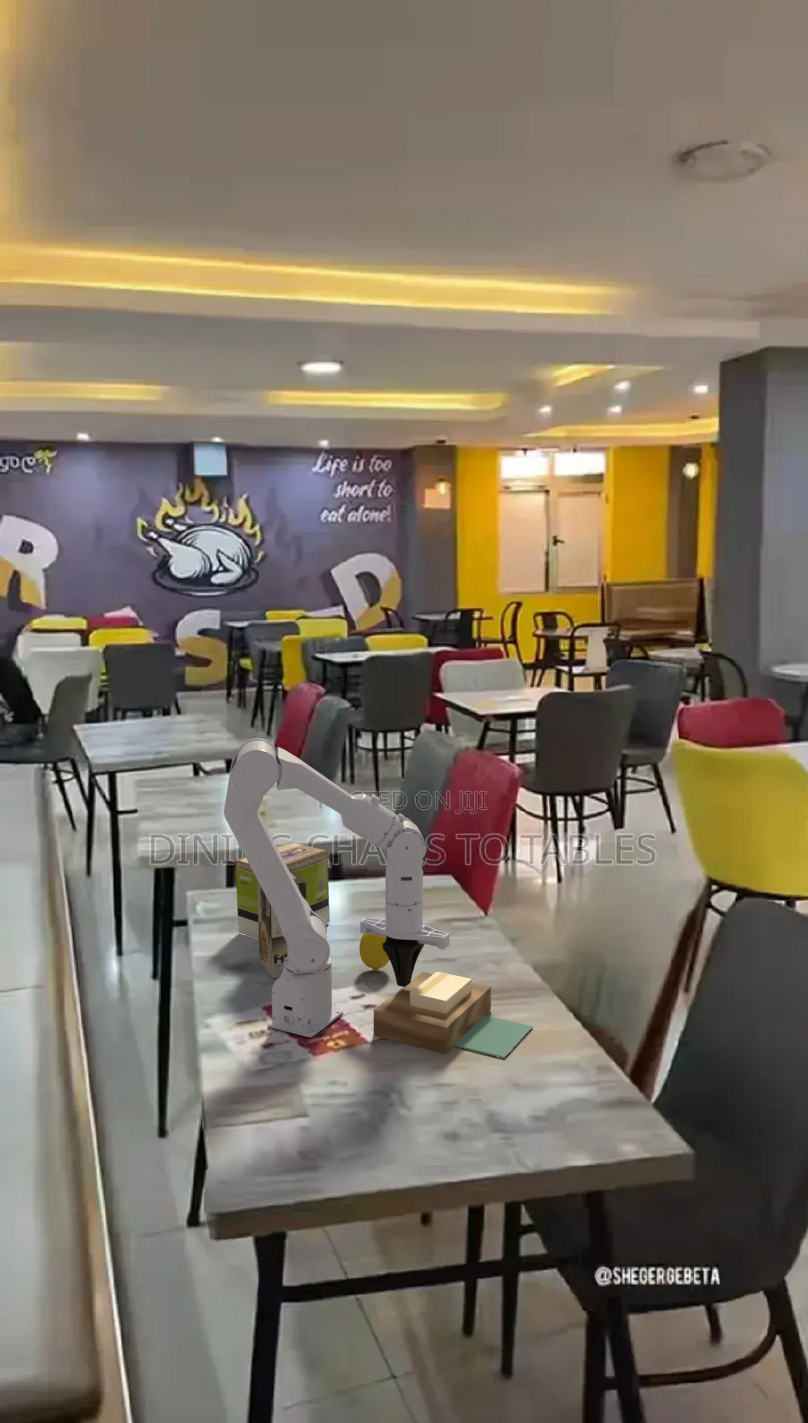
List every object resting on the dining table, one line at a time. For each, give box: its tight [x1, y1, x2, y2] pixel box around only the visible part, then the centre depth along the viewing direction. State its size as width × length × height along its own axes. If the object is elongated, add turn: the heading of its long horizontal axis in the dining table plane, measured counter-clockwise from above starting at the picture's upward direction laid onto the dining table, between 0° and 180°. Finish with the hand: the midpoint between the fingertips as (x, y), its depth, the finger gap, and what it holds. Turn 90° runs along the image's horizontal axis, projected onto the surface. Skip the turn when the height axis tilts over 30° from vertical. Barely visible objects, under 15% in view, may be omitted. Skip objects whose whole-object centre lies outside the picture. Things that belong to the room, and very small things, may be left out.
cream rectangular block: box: [410, 971, 473, 1014], centre depth 164 cm, size 9×6×2 cm, turn 152°
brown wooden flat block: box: [373, 971, 492, 1054], centre depth 164 cm, size 16×12×4 cm
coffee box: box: [257, 868, 306, 979], centre depth 184 cm, size 9×6×16 cm
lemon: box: [358, 933, 390, 972], centre depth 183 cm, size 6×6×8 cm
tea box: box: [235, 841, 331, 941], centre depth 202 cm, size 15×10×15 cm
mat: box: [454, 1015, 534, 1059], centre depth 160 cm, size 11×8×1 cm
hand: (403, 983), depth 167 cm, fingers closed
